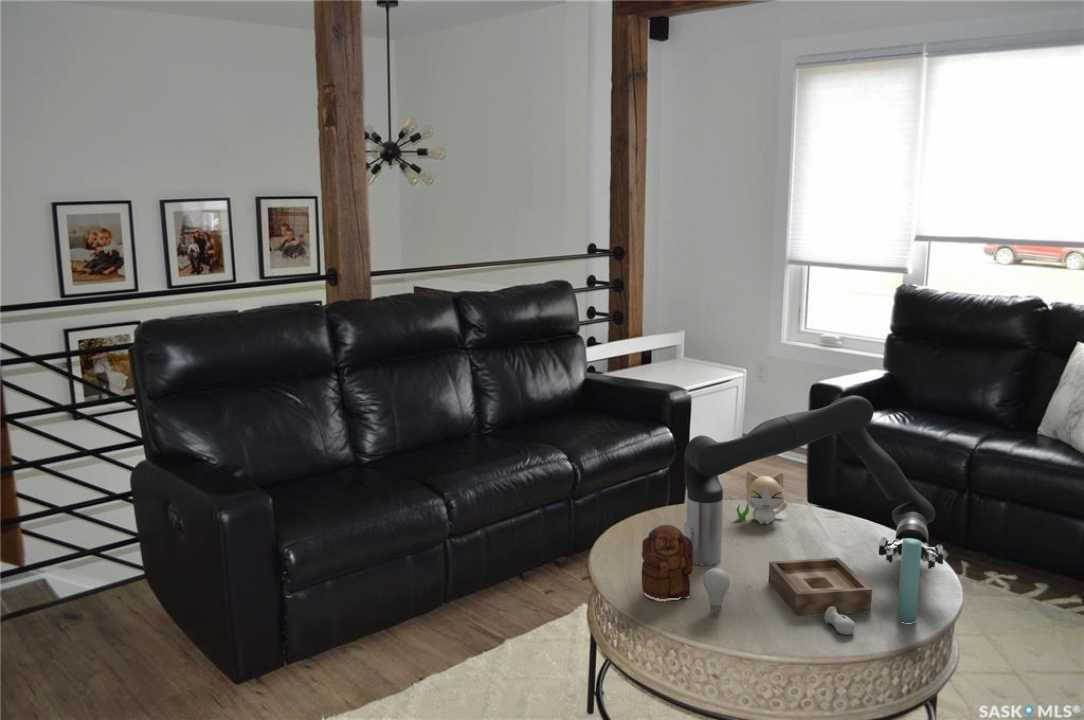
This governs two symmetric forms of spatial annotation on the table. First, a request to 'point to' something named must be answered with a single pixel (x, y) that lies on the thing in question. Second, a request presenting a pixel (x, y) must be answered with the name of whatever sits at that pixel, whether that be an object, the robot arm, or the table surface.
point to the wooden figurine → (667, 563)
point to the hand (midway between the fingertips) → (910, 562)
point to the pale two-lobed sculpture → (839, 621)
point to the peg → (909, 580)
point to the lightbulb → (716, 587)
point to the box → (819, 586)
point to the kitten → (764, 497)
